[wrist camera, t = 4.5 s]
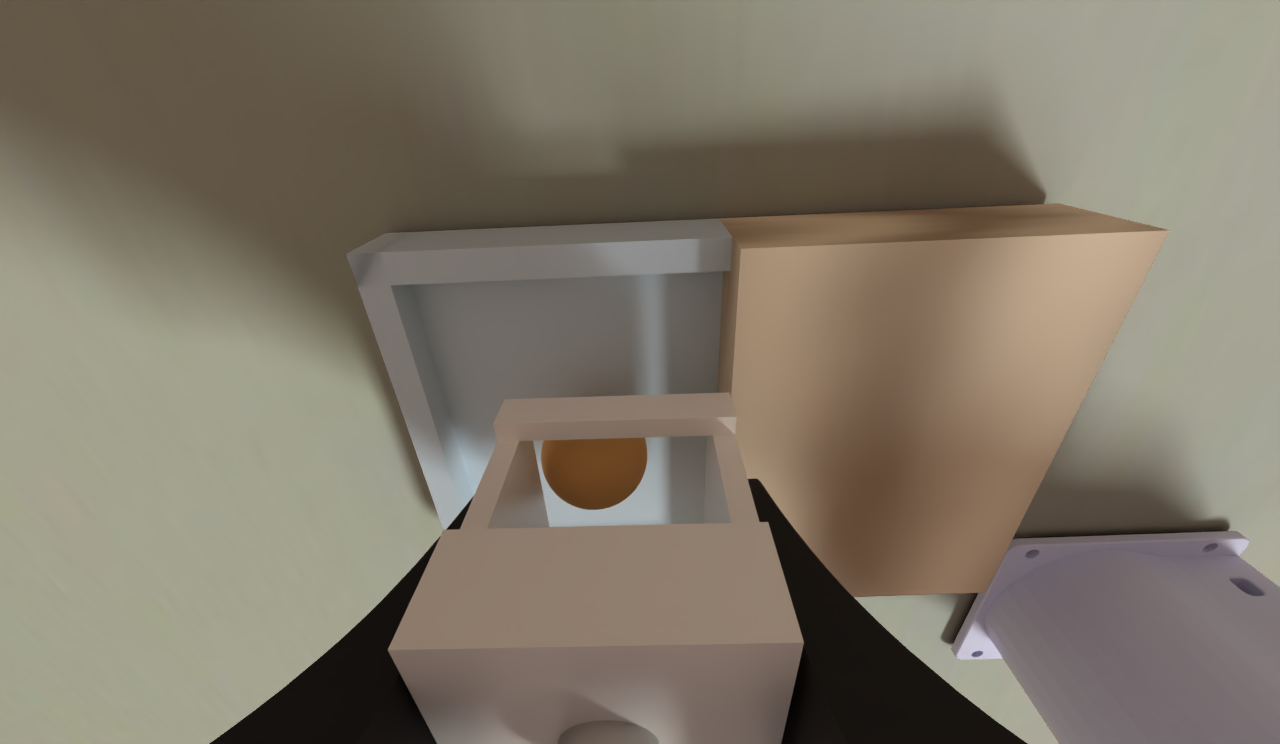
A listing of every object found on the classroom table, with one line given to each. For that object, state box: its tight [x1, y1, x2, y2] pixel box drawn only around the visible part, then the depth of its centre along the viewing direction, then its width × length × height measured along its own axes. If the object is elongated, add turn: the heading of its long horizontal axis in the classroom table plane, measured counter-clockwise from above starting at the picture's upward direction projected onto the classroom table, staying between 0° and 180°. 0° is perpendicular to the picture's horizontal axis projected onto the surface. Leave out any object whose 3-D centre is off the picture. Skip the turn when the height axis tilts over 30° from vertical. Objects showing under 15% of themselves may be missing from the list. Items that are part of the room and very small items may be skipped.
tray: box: [346, 218, 732, 530], centre depth 15 cm, size 9×12×2 cm
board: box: [717, 204, 1170, 597], centre depth 14 cm, size 9×12×3 cm
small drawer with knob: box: [388, 392, 804, 744], centre depth 10 cm, size 5×5×7 cm
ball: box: [541, 438, 647, 510], centre depth 13 cm, size 3×3×3 cm
